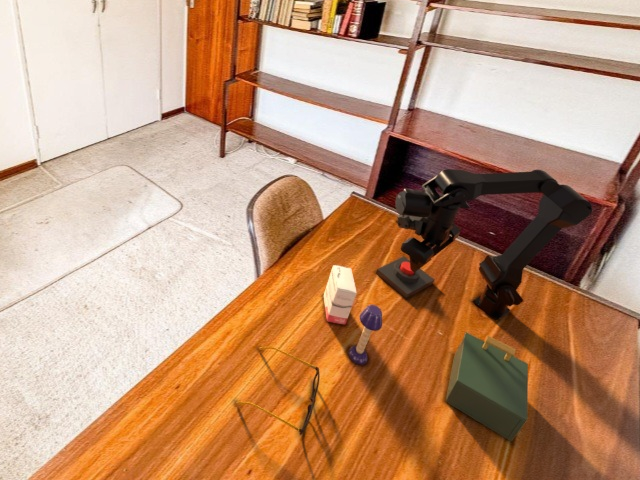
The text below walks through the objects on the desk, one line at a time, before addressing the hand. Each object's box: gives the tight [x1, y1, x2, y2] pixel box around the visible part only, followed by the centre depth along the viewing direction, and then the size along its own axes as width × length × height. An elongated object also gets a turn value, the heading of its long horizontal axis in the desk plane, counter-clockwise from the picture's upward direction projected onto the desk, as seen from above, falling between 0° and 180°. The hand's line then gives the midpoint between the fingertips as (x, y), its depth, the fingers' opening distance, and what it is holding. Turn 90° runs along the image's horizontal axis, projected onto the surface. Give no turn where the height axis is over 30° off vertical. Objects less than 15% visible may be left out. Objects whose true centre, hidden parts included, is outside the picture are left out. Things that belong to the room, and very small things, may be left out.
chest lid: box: [456, 331, 529, 423], centre depth 83 cm, size 14×12×4 cm
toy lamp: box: [348, 304, 383, 366], centre depth 90 cm, size 5×5×17 cm
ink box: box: [323, 264, 358, 325], centre depth 103 cm, size 9×5×12 cm, turn 168°
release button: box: [400, 262, 414, 275], centre depth 114 cm, size 4×4×2 cm
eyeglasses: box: [235, 346, 321, 436], centre depth 85 cm, size 14×14×4 cm
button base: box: [375, 256, 435, 299], centre depth 115 cm, size 12×10×4 cm
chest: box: [445, 337, 526, 442], centre depth 85 cm, size 14×12×7 cm
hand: (421, 263), depth 105 cm, fingers open, 9 cm apart
